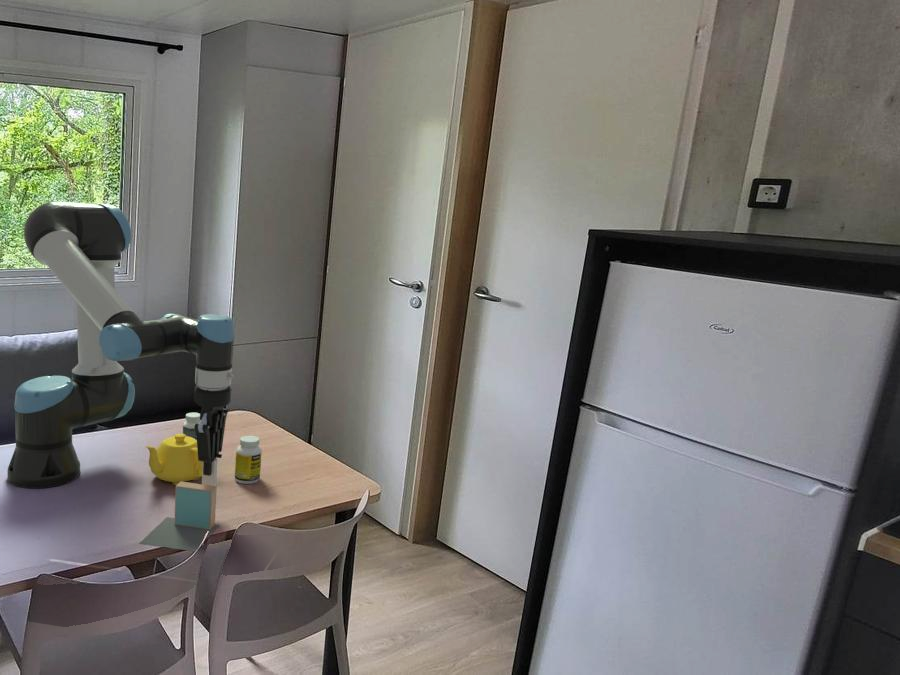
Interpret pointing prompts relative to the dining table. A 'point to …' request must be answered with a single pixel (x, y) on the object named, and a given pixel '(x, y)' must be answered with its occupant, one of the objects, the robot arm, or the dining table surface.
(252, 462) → the pill bottle
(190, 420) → the pill bottle
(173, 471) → the teapot
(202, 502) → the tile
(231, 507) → the dining table surface
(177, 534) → the mat
